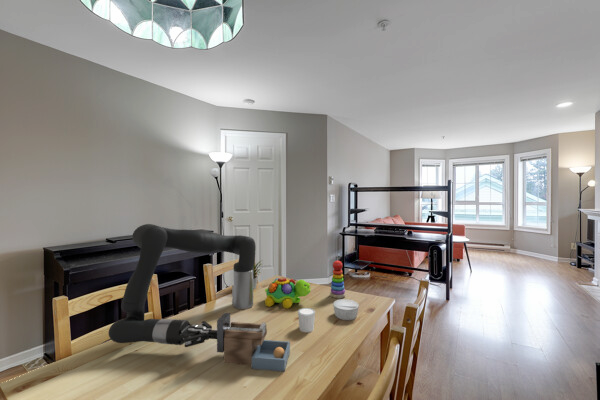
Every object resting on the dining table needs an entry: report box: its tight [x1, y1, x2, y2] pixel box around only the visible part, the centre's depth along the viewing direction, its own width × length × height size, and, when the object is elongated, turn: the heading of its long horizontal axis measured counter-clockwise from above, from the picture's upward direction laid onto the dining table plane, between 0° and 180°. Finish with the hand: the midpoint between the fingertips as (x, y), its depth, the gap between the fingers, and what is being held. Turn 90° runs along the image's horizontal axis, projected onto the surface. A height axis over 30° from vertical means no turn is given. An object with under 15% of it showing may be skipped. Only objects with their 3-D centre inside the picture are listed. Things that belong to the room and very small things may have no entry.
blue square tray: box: [251, 339, 291, 372], centre depth 87 cm, size 10×10×4 cm
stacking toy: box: [329, 260, 346, 299], centre depth 142 cm, size 8×8×19 cm
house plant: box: [253, 260, 264, 290], centre depth 154 cm, size 14×14×16 cm
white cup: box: [297, 307, 316, 333], centre depth 107 cm, size 7×7×7 cm
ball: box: [274, 347, 285, 359], centre depth 86 cm, size 4×4×4 cm
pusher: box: [216, 312, 266, 354], centre depth 88 cm, size 14×6×10 cm, turn 83°
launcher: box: [223, 321, 268, 366], centre depth 88 cm, size 12×7×10 cm, turn 83°
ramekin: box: [332, 298, 360, 321], centre depth 119 cm, size 11×11×5 cm
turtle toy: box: [264, 276, 312, 310], centre depth 134 cm, size 17×23×12 cm
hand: (220, 334), depth 89 cm, fingers closed
